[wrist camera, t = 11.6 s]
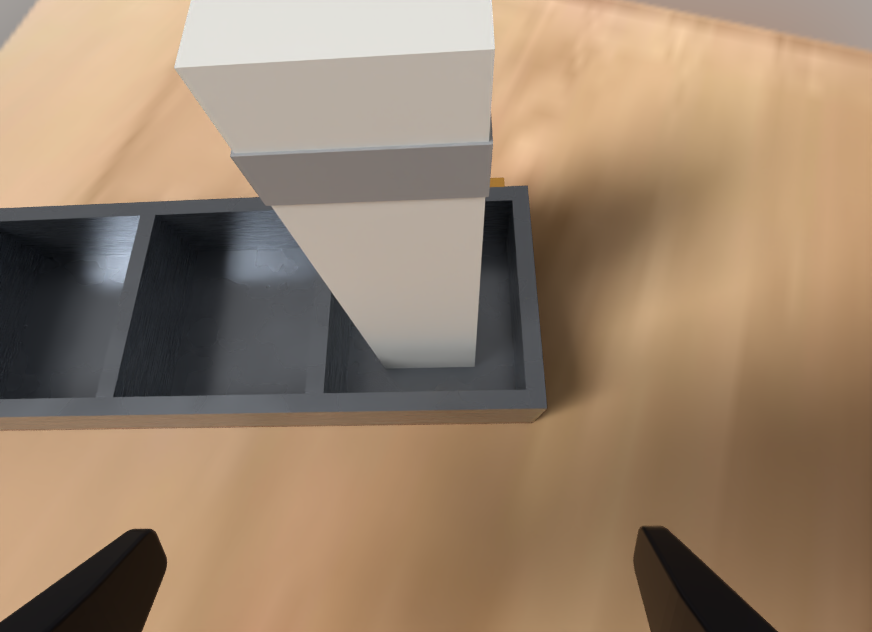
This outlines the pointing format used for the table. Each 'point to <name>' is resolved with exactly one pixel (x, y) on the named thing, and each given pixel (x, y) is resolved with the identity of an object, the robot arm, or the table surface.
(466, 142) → the white capped pillar
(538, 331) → the rack
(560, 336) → the table surface
